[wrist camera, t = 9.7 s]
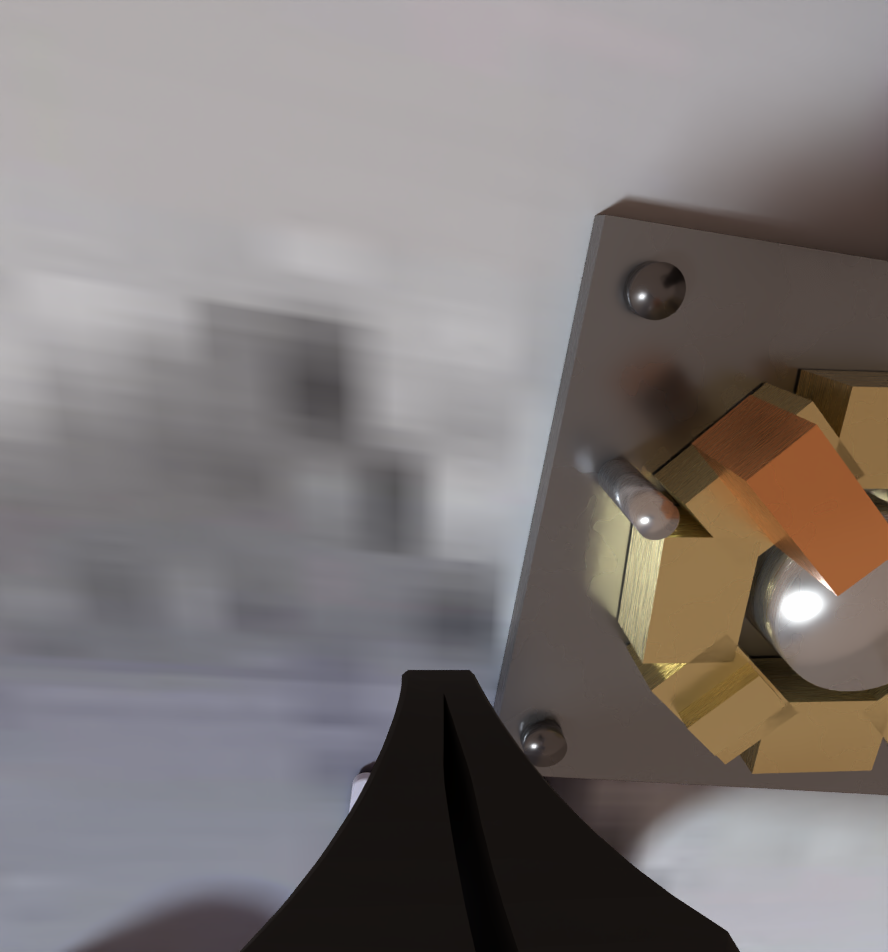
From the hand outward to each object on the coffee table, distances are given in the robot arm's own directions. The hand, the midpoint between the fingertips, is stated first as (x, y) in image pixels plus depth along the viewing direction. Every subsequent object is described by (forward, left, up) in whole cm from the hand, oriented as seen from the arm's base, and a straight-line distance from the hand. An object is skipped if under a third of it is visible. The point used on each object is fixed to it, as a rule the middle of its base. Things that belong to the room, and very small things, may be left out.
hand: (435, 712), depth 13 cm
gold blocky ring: (0, -13, -9) cm, 16 cm away
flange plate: (0, -14, -10) cm, 17 cm away
